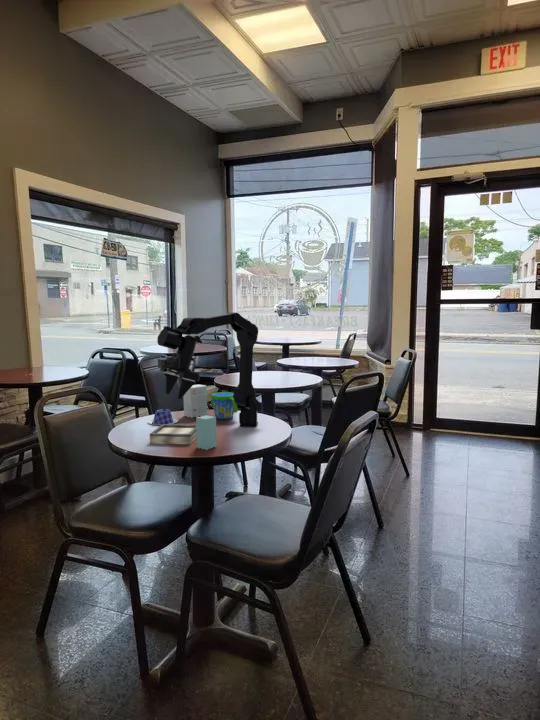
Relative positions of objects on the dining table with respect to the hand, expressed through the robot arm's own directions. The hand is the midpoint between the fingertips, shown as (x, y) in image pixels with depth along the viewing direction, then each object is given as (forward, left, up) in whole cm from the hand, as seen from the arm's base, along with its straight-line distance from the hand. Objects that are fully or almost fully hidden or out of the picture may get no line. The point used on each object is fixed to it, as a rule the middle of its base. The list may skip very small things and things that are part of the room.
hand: (172, 396), depth 162 cm
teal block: (-13, +8, -15) cm, 22 cm away
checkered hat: (+12, -26, -16) cm, 32 cm away
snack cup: (-11, -36, -15) cm, 40 cm away
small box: (+2, -39, -15) cm, 41 cm away
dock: (0, -2, -15) cm, 15 cm away
